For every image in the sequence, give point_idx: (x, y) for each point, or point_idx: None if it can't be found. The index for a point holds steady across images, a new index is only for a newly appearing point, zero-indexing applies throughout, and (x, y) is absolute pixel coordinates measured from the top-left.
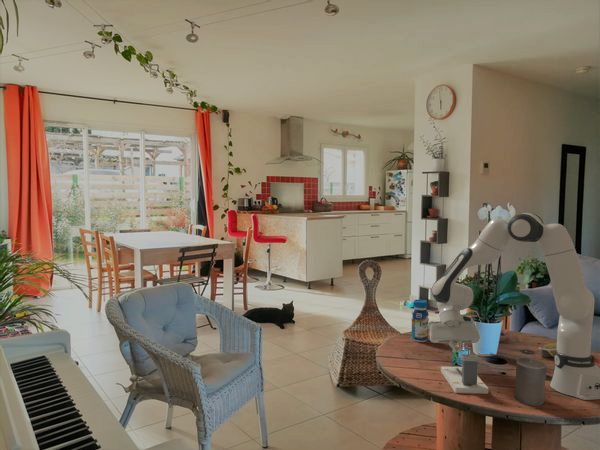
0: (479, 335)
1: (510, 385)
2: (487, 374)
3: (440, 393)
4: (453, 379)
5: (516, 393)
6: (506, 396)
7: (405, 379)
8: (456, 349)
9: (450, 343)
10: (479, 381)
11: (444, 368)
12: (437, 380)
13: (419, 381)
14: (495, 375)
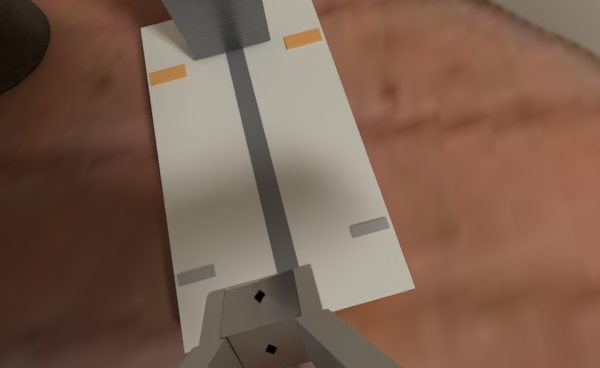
0: None
1: (10, 184)
2: (89, 329)
3: None
4: (316, 78)
5: (22, 1)
6: (80, 48)
7: (588, 77)
8: (277, 279)
9: (388, 364)
10: (168, 99)
11: (384, 252)
12: (406, 122)
13: (503, 76)
14: (41, 326)
